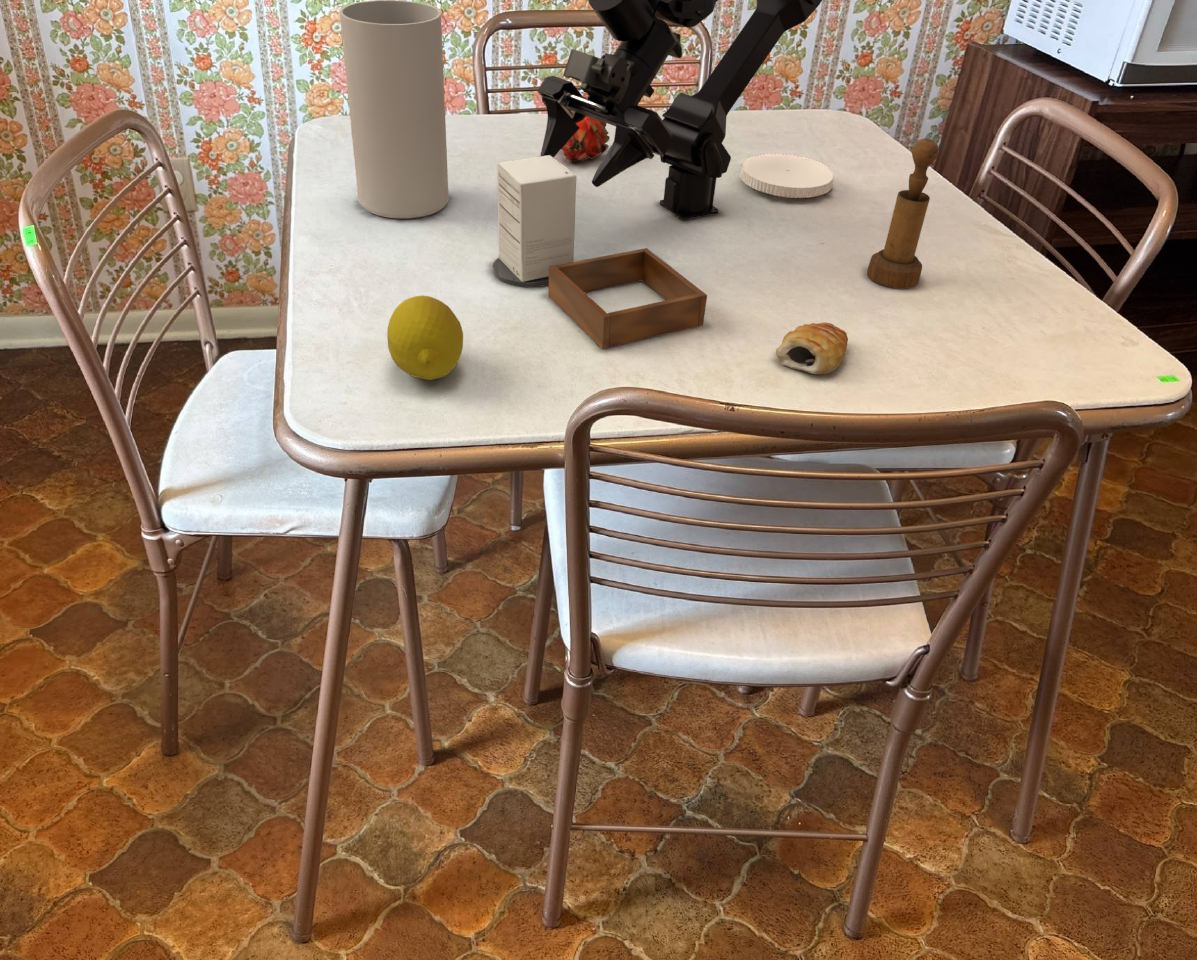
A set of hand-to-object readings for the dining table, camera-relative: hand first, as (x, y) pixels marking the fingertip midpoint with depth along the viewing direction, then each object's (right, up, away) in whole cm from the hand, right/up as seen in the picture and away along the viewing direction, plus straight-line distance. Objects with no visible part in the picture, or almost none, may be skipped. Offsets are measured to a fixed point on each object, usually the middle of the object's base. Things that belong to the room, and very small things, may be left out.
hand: (567, 173), depth 122 cm
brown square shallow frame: (+7, -18, -4) cm, 19 cm away
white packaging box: (-4, -11, +3) cm, 12 cm away
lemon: (-14, -26, -16) cm, 34 cm away
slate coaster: (-5, -11, +3) cm, 13 cm away
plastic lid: (+33, +7, +31) cm, 45 cm away
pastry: (+28, -24, -10) cm, 38 cm away
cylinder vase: (-24, +1, +18) cm, 30 cm away
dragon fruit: (+1, +13, +36) cm, 38 cm away
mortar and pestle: (+42, -12, +7) cm, 44 cm away
